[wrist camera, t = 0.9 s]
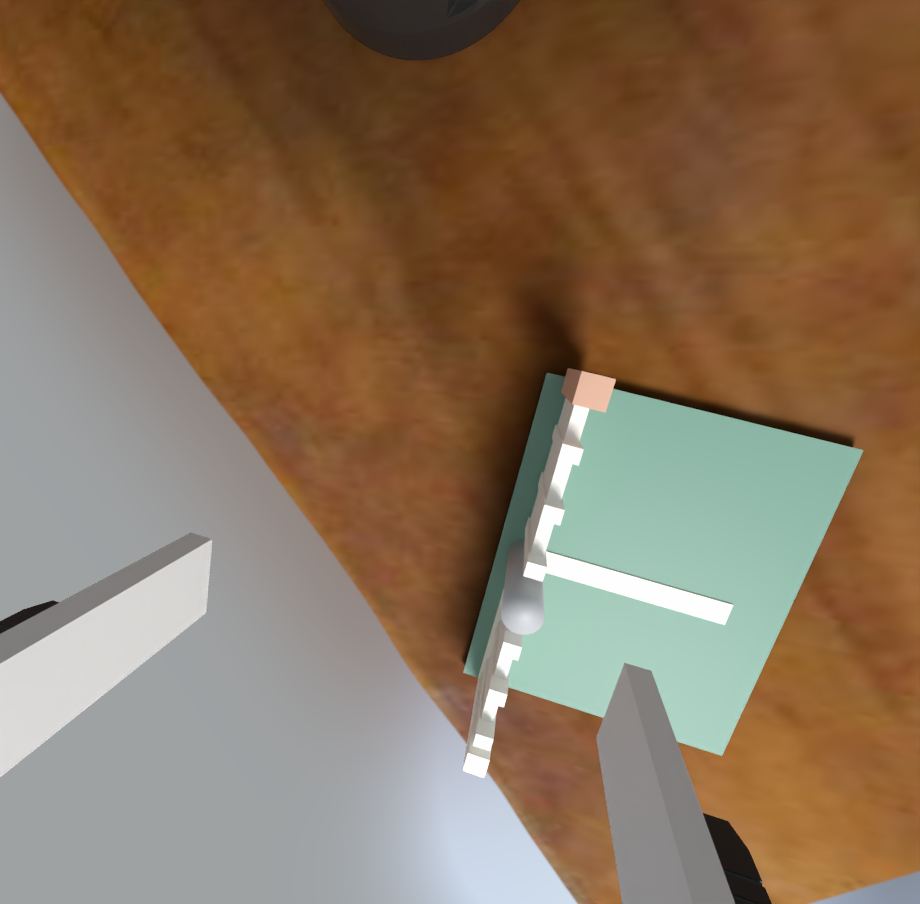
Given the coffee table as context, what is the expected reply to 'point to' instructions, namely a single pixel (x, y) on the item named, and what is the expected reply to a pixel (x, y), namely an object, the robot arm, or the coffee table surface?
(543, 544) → the white crenellated wall
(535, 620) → the fixed fence
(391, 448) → the coffee table surface
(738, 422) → the board
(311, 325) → the coffee table surface
